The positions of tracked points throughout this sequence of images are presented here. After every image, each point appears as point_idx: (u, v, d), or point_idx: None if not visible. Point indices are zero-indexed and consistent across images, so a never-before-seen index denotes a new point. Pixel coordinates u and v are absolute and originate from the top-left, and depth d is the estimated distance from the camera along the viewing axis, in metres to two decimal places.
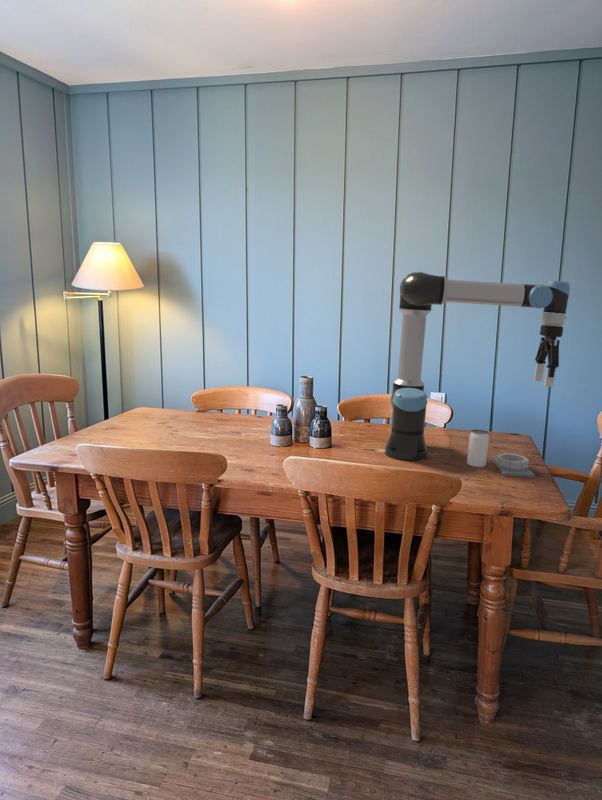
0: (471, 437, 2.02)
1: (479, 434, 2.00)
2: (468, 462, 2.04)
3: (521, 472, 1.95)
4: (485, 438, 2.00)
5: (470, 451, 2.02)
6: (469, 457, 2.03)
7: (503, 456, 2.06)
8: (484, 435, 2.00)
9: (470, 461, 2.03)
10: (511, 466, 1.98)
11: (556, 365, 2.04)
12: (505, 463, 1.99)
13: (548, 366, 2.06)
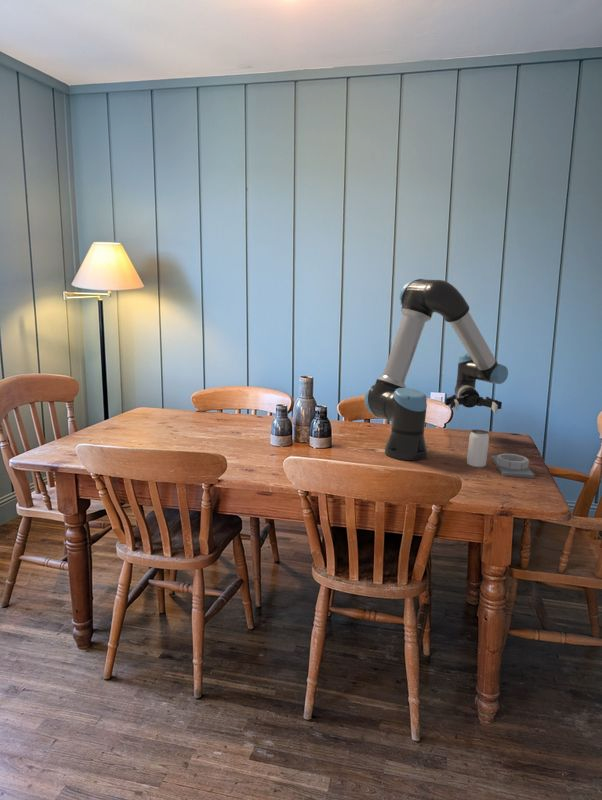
0: (471, 437, 2.02)
1: (479, 434, 2.00)
2: (468, 462, 2.04)
3: (521, 472, 1.95)
4: (484, 438, 2.00)
5: (470, 451, 2.02)
6: (469, 457, 2.03)
7: (503, 456, 2.06)
8: (484, 435, 2.00)
9: (470, 461, 2.03)
10: (511, 466, 1.98)
11: None
12: (505, 463, 1.99)
13: (497, 401, 2.17)
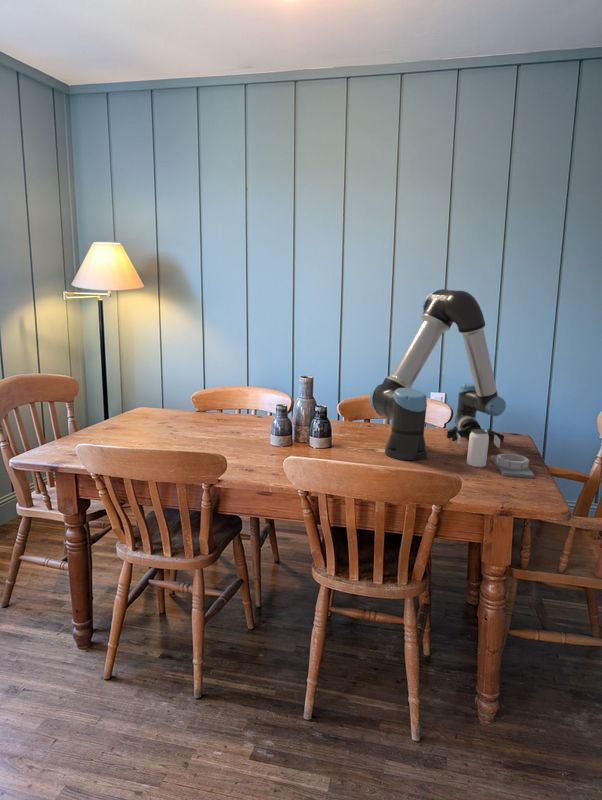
0: (471, 437, 2.02)
1: (479, 434, 2.00)
2: (468, 462, 2.04)
3: (521, 472, 1.95)
4: (484, 438, 2.00)
5: (470, 451, 2.02)
6: (469, 457, 2.03)
7: (503, 456, 2.06)
8: (484, 435, 2.00)
9: (470, 461, 2.03)
10: (511, 466, 1.98)
11: None
12: (505, 463, 1.99)
13: (499, 434, 2.13)
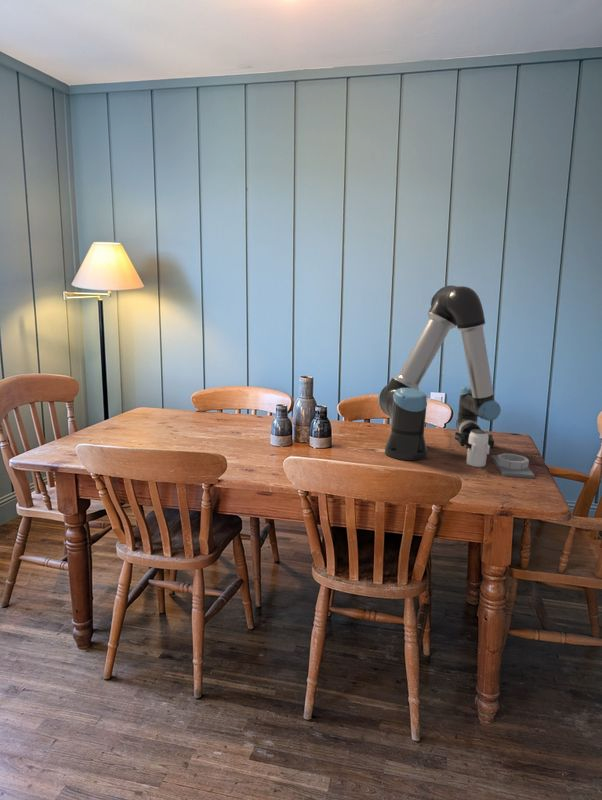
0: (470, 437, 2.02)
1: (478, 434, 2.00)
2: (467, 462, 2.04)
3: (521, 472, 1.95)
4: (484, 438, 2.00)
5: (469, 451, 2.02)
6: (468, 457, 2.03)
7: (503, 456, 2.06)
8: (483, 435, 2.00)
9: (469, 461, 2.03)
10: (511, 466, 1.98)
11: (493, 446, 2.05)
12: (505, 463, 1.99)
13: (489, 440, 2.04)
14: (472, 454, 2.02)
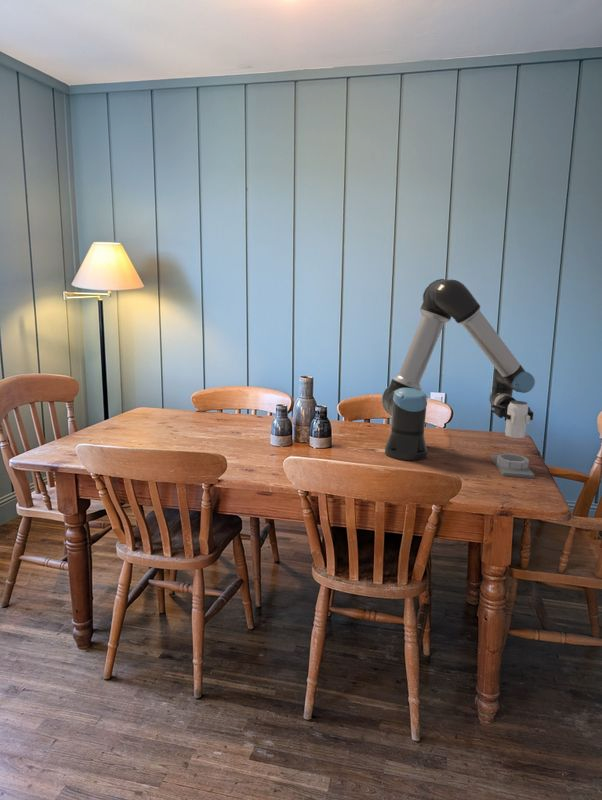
0: (510, 408, 1.98)
1: (518, 404, 1.96)
2: (506, 433, 2.00)
3: (521, 472, 1.95)
4: (524, 408, 1.96)
5: (508, 422, 1.99)
6: (507, 428, 1.99)
7: (503, 456, 2.06)
8: (523, 405, 1.96)
9: (508, 432, 1.99)
10: (511, 466, 1.98)
11: (532, 417, 2.01)
12: (505, 463, 1.99)
13: (528, 412, 2.00)
14: (511, 425, 1.98)
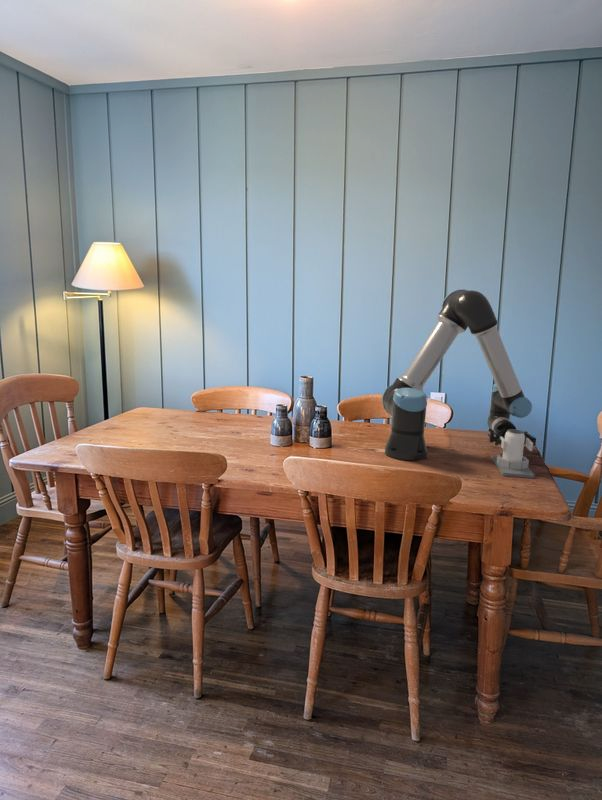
0: (507, 437, 2.00)
1: (515, 434, 1.98)
2: None
3: (521, 472, 1.95)
4: (520, 437, 1.98)
5: (505, 451, 2.01)
6: (504, 457, 2.01)
7: None
8: (520, 435, 1.98)
9: None
10: (511, 466, 1.98)
11: (535, 443, 2.03)
12: (505, 463, 1.99)
13: (531, 437, 2.03)
14: (508, 454, 2.00)
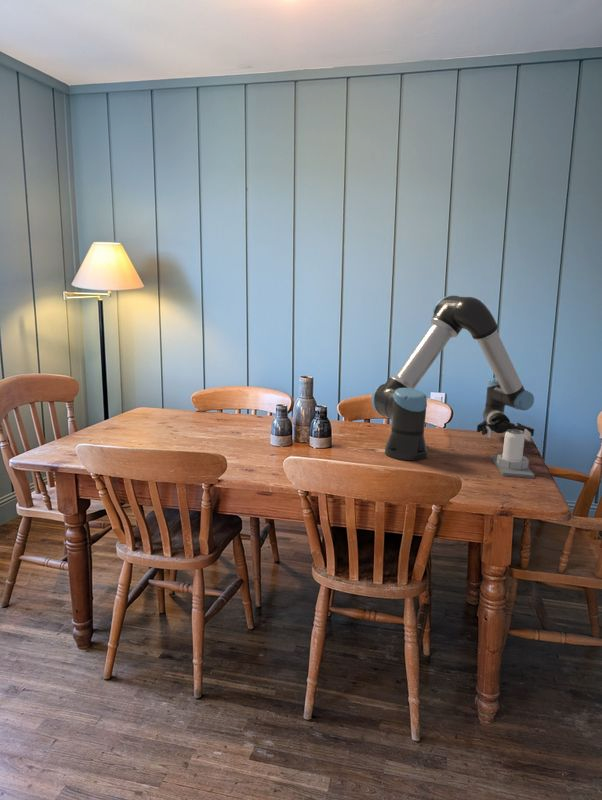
0: (506, 437, 2.00)
1: (515, 434, 1.98)
2: None
3: (521, 472, 1.95)
4: (520, 438, 1.98)
5: (505, 451, 2.01)
6: (504, 457, 2.01)
7: None
8: (519, 435, 1.98)
9: None
10: (511, 466, 1.98)
11: None
12: (505, 463, 1.99)
13: None
14: (508, 454, 2.00)
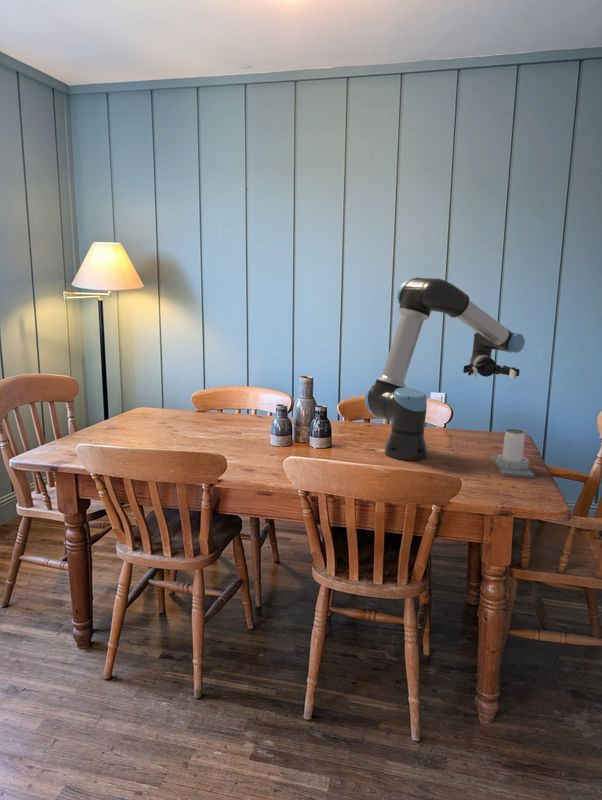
0: (506, 437, 2.00)
1: (515, 434, 1.98)
2: None
3: (521, 472, 1.95)
4: (520, 438, 1.98)
5: (505, 451, 2.01)
6: (504, 457, 2.01)
7: None
8: (519, 435, 1.98)
9: None
10: (511, 466, 1.98)
11: None
12: (505, 463, 1.99)
13: (514, 368, 2.18)
14: (508, 454, 2.00)
